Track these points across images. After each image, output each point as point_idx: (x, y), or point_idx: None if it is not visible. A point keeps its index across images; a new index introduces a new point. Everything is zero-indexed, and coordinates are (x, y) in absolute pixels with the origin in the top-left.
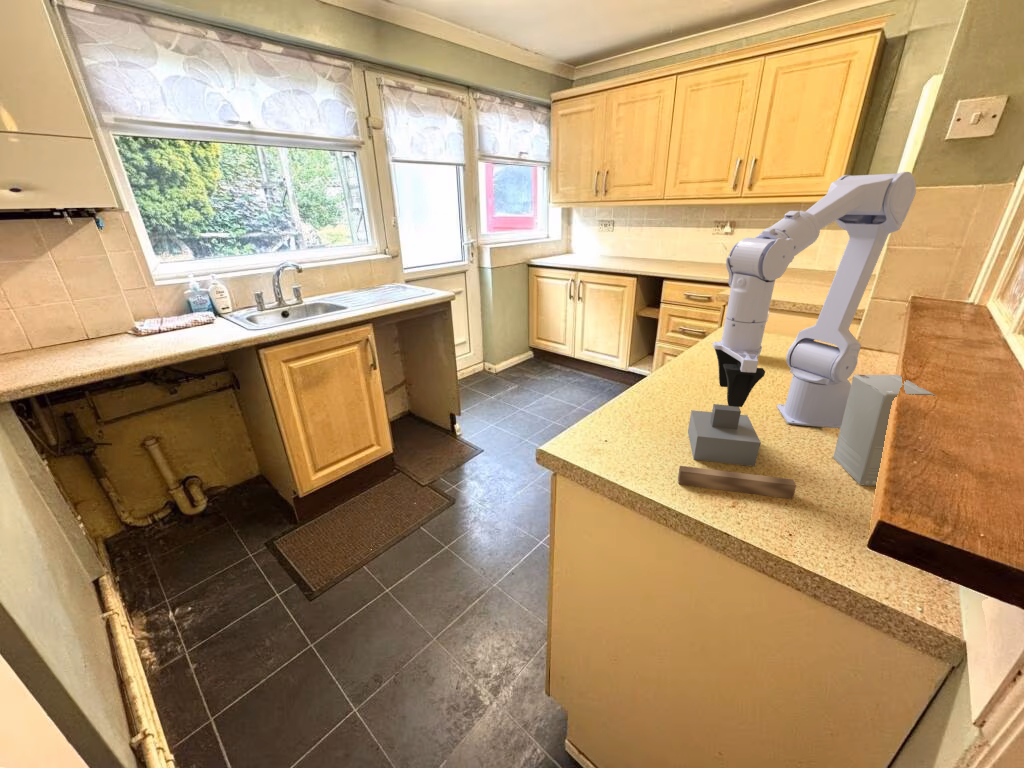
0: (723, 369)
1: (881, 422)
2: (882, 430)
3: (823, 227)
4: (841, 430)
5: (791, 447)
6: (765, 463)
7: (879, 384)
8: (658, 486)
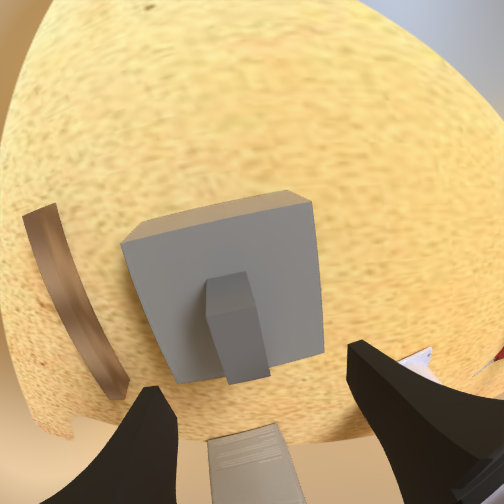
0: (395, 405)
1: None
2: None
3: None
4: (283, 463)
5: (290, 385)
6: None
7: None
8: (21, 174)
